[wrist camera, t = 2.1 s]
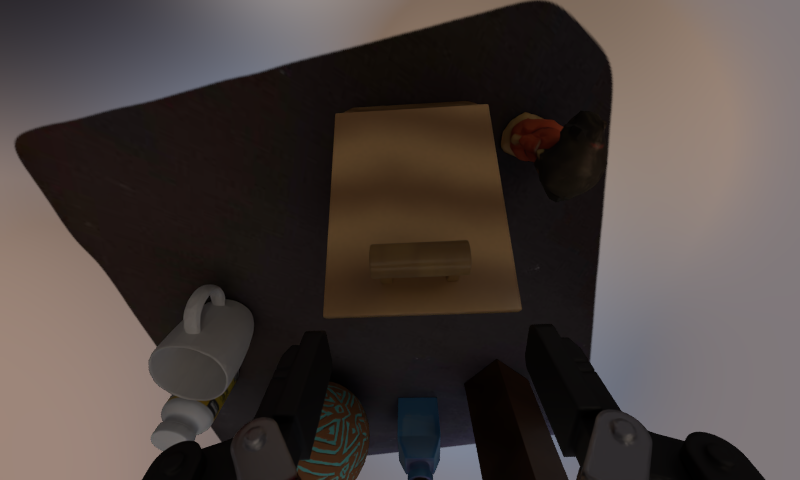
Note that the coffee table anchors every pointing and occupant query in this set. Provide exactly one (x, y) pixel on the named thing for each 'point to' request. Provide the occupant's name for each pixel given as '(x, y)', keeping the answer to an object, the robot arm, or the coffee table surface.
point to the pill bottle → (187, 418)
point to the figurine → (560, 151)
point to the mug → (203, 347)
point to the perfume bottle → (418, 437)
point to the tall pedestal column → (510, 427)
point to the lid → (417, 216)
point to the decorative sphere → (338, 438)
